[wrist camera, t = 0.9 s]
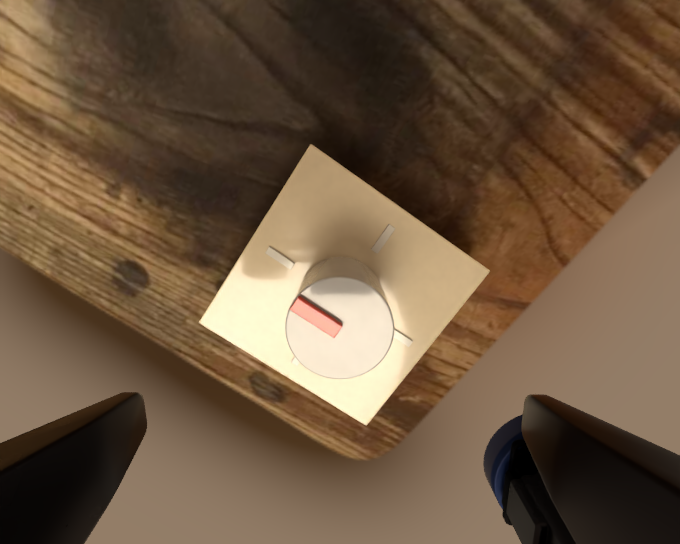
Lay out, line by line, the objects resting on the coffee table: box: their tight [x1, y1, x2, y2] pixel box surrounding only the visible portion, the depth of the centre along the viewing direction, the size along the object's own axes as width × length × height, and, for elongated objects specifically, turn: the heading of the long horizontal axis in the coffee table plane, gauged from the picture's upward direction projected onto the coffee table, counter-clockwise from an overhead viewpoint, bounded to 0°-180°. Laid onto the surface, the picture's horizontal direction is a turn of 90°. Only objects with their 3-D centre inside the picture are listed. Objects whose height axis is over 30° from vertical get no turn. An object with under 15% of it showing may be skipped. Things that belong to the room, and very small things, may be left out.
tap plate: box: [199, 144, 490, 425], centre depth 18 cm, size 10×10×3 cm
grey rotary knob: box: [285, 257, 394, 379], centre depth 15 cm, size 4×4×4 cm
